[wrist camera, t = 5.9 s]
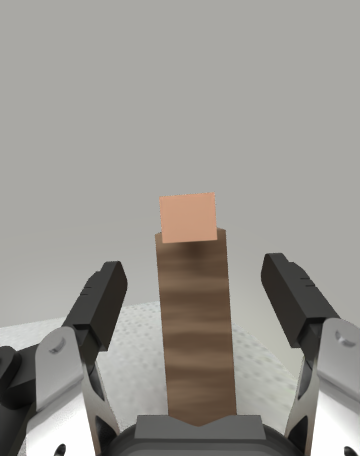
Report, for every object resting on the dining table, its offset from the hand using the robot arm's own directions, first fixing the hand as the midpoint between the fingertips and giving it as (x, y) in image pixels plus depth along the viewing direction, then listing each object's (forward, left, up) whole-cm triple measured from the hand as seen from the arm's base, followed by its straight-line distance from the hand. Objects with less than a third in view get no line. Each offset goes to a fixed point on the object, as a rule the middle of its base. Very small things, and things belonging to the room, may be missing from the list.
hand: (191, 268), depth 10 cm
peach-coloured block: (-6, +12, +1) cm, 13 cm away
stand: (-8, +17, -31) cm, 36 cm away
